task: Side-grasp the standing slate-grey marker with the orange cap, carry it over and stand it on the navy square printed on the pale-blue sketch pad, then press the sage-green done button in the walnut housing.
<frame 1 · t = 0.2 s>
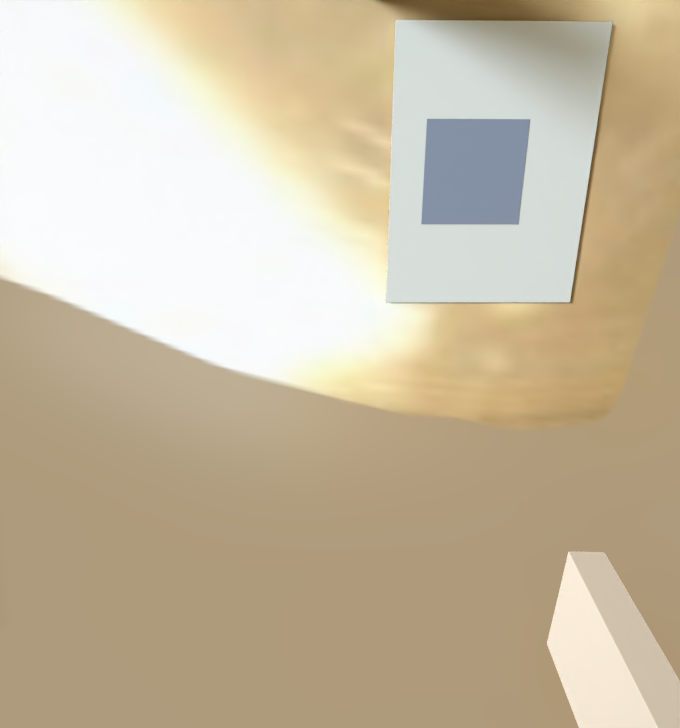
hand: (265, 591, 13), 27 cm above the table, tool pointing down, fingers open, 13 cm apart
sketch pad: (489, 172, 35), on the table
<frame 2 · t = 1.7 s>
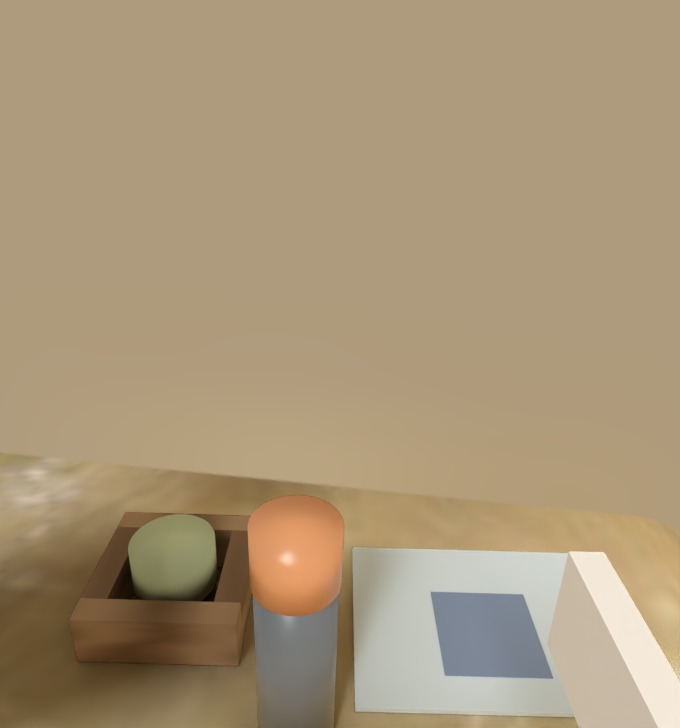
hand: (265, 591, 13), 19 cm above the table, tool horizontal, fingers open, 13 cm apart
done button: (174, 560, 36), point 3 cm above the table, slide at 0.0 cm
sketch pad: (482, 622, 36), on the table
button housing: (178, 600, 37), on the table
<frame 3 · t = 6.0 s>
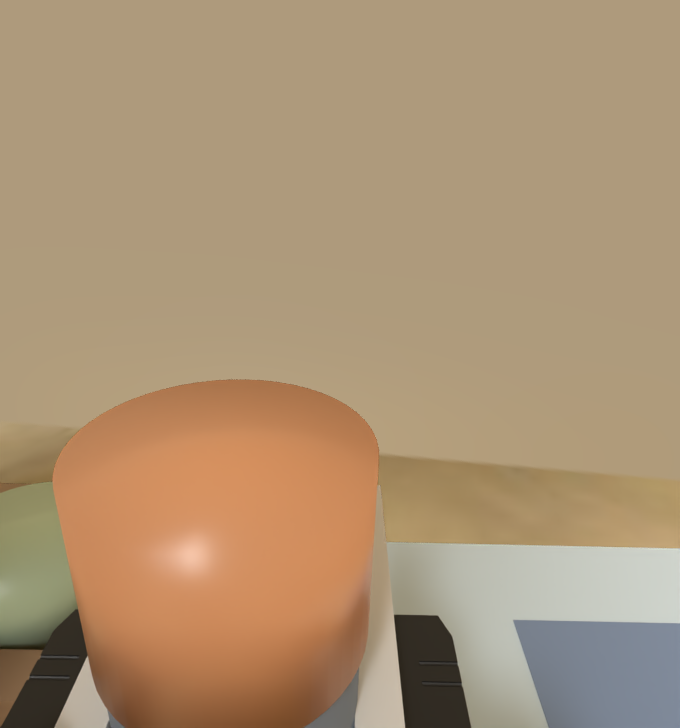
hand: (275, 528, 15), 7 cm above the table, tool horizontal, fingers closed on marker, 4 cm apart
done button: (35, 566, 19), point 3 cm above the table, slide at 0.0 cm
sketch pad: (619, 678, 19), on the table
button housing: (53, 641, 20), on the table
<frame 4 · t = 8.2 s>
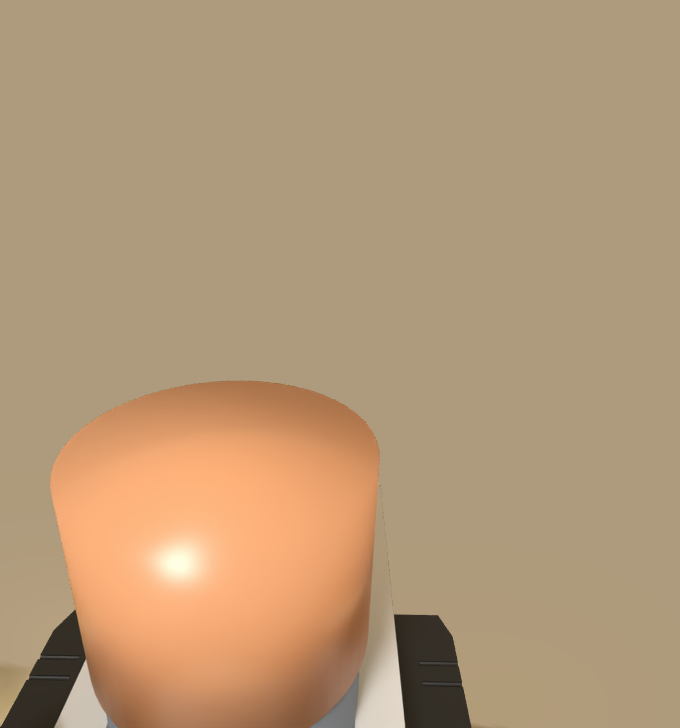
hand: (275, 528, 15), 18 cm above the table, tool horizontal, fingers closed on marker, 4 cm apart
when the fingers open (8 cm above the table, at t = 10.5 s): marker stays where it is, resting on sketch pad.
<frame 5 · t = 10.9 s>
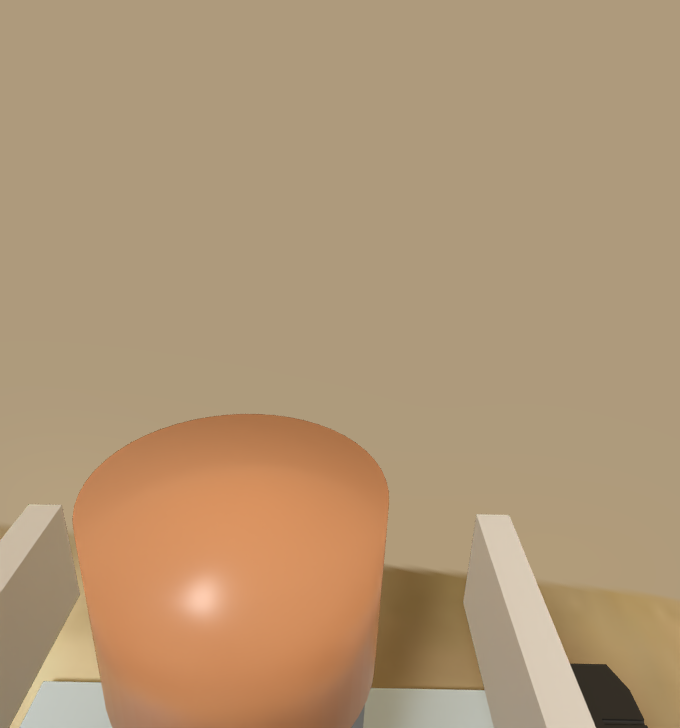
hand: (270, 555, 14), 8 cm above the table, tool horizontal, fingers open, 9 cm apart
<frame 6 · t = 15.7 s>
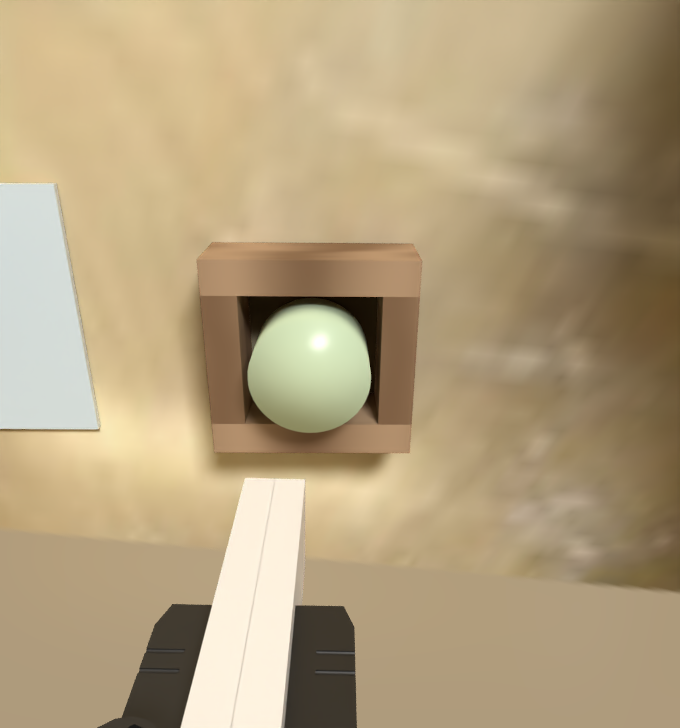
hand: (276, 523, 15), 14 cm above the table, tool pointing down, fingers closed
done button: (310, 364, 25), point 3 cm above the table, slide at 0.0 cm
button housing: (313, 336, 28), on the table
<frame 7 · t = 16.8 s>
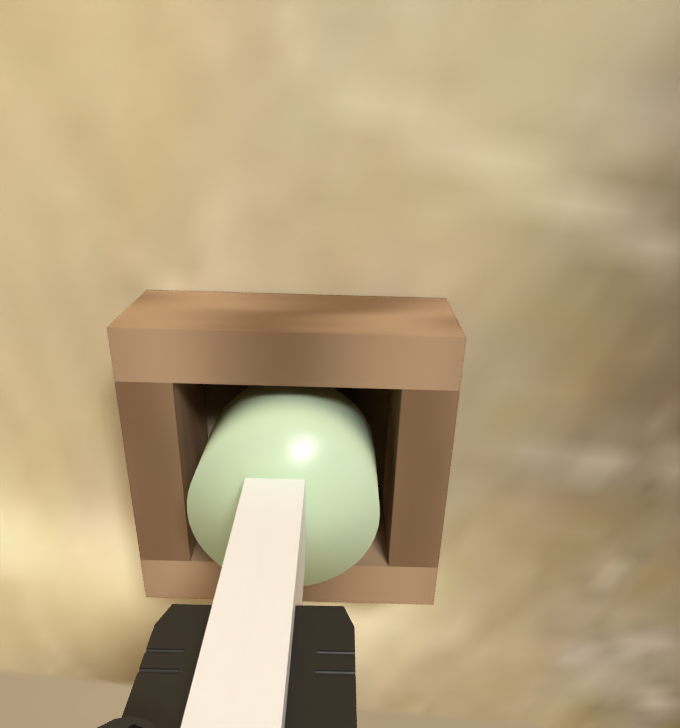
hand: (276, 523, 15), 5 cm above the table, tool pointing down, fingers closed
done button: (288, 480, 17), point 3 cm above the table, slide at 0.2 cm, touching gripper
button housing: (297, 424, 19), on the table
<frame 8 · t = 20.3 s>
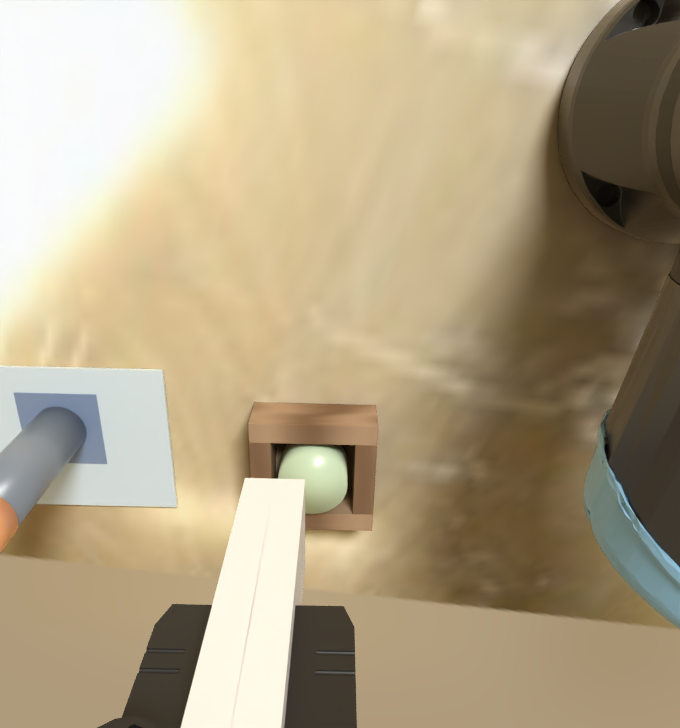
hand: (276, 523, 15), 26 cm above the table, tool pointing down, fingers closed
done button: (313, 473, 43), point 2 cm above the table, slide at 0.9 cm
sketch pad: (65, 438, 45), on the table
button housing: (314, 455, 45), on the table
marker: (60, 428, 44), resting on sketch pad
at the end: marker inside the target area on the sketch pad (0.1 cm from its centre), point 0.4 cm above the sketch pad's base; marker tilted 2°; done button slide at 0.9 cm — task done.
